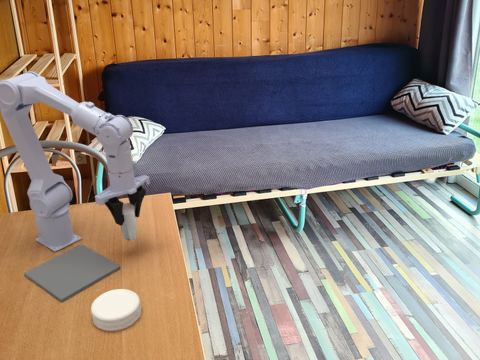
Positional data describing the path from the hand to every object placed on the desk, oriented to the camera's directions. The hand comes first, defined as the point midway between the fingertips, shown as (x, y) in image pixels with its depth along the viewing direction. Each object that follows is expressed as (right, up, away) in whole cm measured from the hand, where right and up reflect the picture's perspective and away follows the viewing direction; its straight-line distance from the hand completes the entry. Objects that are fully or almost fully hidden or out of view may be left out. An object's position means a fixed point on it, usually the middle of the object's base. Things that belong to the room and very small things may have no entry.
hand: (127, 219), depth 123 cm
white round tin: (+2, -19, -17) cm, 26 cm away
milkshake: (+1, -5, +2) cm, 5 cm away
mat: (-13, -12, -2) cm, 18 cm away
